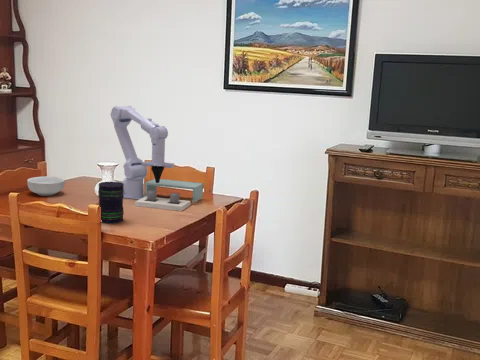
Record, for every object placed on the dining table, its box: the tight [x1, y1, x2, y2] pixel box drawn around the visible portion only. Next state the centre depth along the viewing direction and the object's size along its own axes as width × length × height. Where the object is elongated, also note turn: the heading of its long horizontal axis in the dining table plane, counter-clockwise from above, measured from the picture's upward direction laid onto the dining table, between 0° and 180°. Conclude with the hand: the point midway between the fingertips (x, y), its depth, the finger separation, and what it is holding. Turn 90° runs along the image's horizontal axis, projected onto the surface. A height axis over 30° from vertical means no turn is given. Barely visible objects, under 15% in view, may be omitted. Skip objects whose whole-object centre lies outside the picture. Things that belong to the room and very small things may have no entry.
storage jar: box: [97, 181, 125, 225], centre depth 225 cm, size 10×10×15 cm
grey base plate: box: [134, 196, 191, 212], centre depth 256 cm, size 22×12×2 cm, turn 76°
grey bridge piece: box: [144, 178, 204, 203], centre depth 269 cm, size 25×12×7 cm, turn 76°
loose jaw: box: [147, 191, 157, 202], centre depth 257 cm, size 4×4×6 cm
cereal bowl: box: [27, 175, 66, 197], centre depth 267 cm, size 17×17×7 cm
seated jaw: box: [169, 192, 180, 204], centre depth 254 cm, size 4×4×6 cm
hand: (157, 182), depth 259 cm, fingers closed
